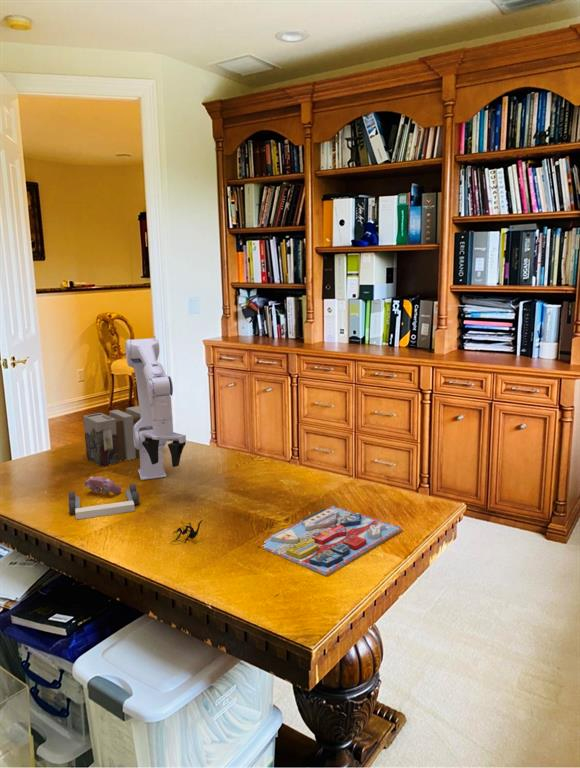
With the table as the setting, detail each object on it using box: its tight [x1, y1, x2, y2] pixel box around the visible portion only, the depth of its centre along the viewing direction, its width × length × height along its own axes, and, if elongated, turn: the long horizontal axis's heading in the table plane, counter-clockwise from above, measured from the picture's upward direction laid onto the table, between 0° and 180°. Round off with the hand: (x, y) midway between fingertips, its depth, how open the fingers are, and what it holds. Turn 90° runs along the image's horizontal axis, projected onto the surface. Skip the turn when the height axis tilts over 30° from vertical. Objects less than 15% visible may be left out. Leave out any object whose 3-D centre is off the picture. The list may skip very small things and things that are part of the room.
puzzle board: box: [260, 505, 403, 577], centre depth 151 cm, size 30×23×3 cm
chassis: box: [68, 483, 140, 521], centre depth 173 cm, size 14×19×4 cm
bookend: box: [82, 405, 153, 467], centre depth 216 cm, size 16×25×16 cm, turn 130°
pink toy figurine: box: [84, 475, 122, 496], centre depth 182 cm, size 10×5×7 cm, turn 68°
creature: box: [171, 519, 204, 543], centre depth 152 cm, size 8×5×8 cm
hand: (165, 464), depth 176 cm, fingers open, 7 cm apart
